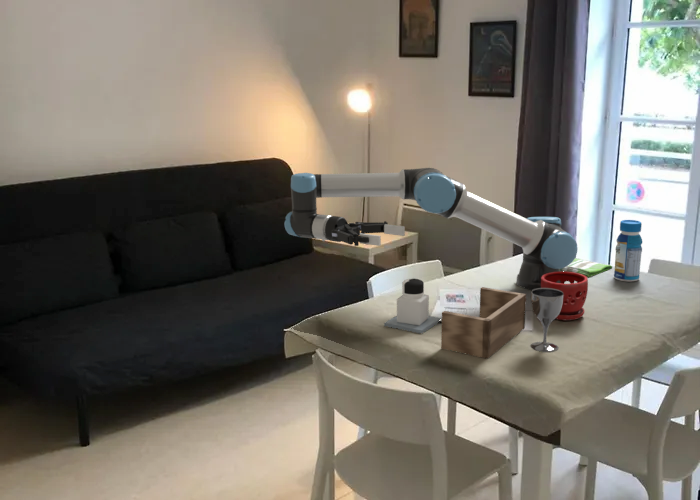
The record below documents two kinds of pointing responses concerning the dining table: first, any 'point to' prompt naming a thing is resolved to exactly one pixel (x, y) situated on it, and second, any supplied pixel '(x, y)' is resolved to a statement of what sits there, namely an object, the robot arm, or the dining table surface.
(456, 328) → the walnut bay
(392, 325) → the grey pad
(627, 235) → the beverage bottle
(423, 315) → the medicine bottle
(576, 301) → the plant pot
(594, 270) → the dish towel
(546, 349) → the wine glass
